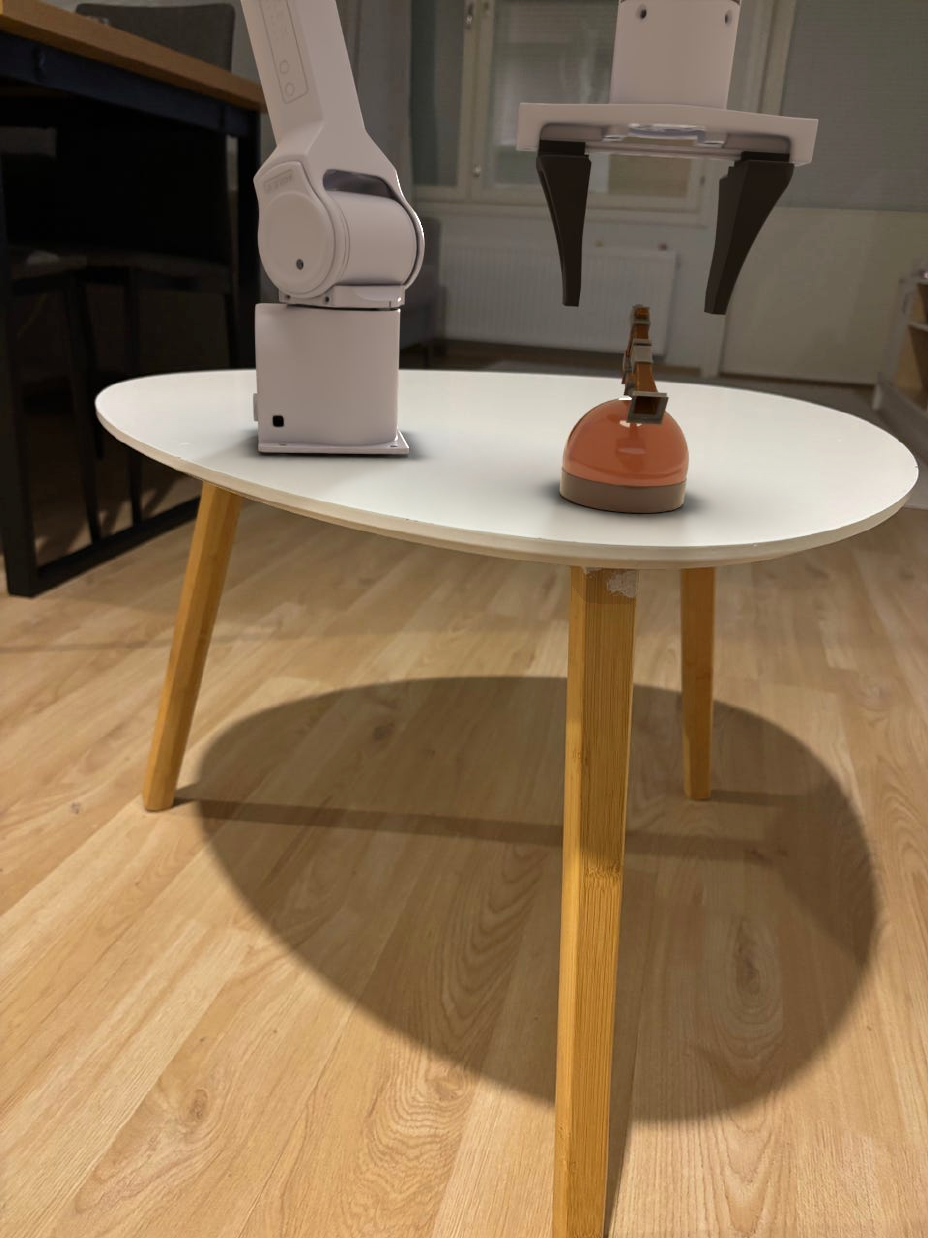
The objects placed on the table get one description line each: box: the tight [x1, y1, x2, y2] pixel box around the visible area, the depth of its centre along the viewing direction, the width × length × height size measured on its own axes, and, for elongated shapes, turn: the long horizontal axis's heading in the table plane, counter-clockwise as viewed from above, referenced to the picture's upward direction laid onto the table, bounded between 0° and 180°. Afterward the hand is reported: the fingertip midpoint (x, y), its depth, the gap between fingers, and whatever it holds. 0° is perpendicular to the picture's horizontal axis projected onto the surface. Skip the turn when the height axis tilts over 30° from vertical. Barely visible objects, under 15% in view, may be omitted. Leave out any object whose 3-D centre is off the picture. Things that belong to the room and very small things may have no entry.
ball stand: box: [559, 397, 690, 514], centre depth 51 cm, size 7×7×7 cm
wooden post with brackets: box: [621, 303, 670, 425], centre depth 49 cm, size 2×8×4 cm
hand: (642, 309), depth 48 cm, fingers open, 7 cm apart
